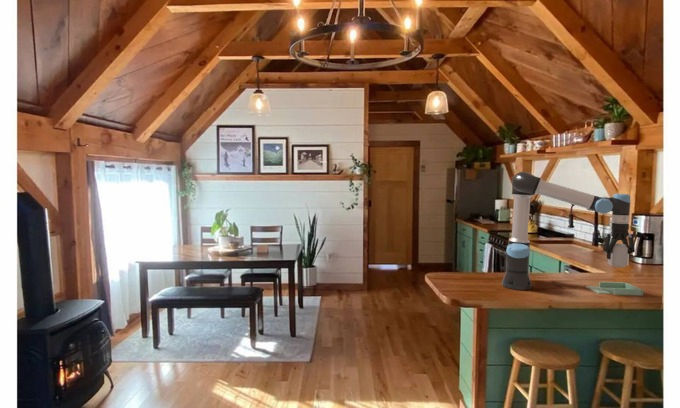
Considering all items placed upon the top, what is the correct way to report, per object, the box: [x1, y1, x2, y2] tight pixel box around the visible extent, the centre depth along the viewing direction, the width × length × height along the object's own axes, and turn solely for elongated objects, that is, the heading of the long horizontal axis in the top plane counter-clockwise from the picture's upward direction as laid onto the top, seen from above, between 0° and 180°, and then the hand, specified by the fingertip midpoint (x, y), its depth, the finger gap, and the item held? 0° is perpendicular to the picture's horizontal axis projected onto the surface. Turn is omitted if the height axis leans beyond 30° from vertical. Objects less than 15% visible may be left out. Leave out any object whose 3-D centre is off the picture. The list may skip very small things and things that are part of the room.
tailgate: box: [585, 285, 611, 295], centre depth 208 cm, size 1×11×6 cm
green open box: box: [598, 281, 644, 296], centre depth 207 cm, size 14×14×4 cm
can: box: [610, 242, 628, 268], centre depth 205 cm, size 8×8×12 cm
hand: (617, 265), depth 206 cm, fingers closed on can, 7 cm apart
